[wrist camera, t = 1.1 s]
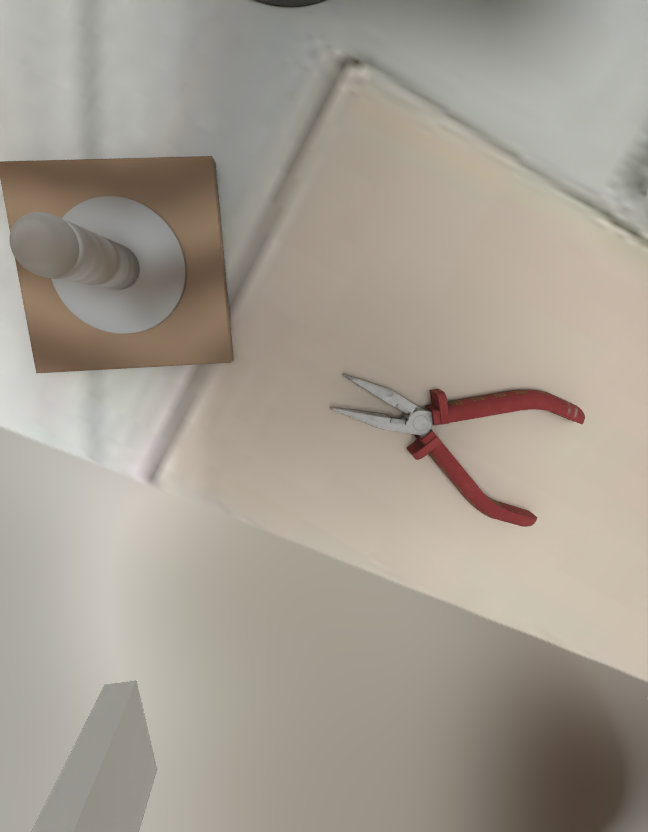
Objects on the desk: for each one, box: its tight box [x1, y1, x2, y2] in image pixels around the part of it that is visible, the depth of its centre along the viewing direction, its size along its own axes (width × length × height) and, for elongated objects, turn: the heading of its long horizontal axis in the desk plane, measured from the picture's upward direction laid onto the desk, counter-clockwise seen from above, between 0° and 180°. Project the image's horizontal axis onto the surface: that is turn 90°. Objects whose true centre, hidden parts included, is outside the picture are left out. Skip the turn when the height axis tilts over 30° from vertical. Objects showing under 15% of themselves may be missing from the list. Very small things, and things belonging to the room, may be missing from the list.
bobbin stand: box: [0, 156, 233, 373], centre depth 27 cm, size 14×14×13 cm
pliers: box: [330, 374, 585, 526], centre depth 37 cm, size 12×20×3 cm, turn 70°
